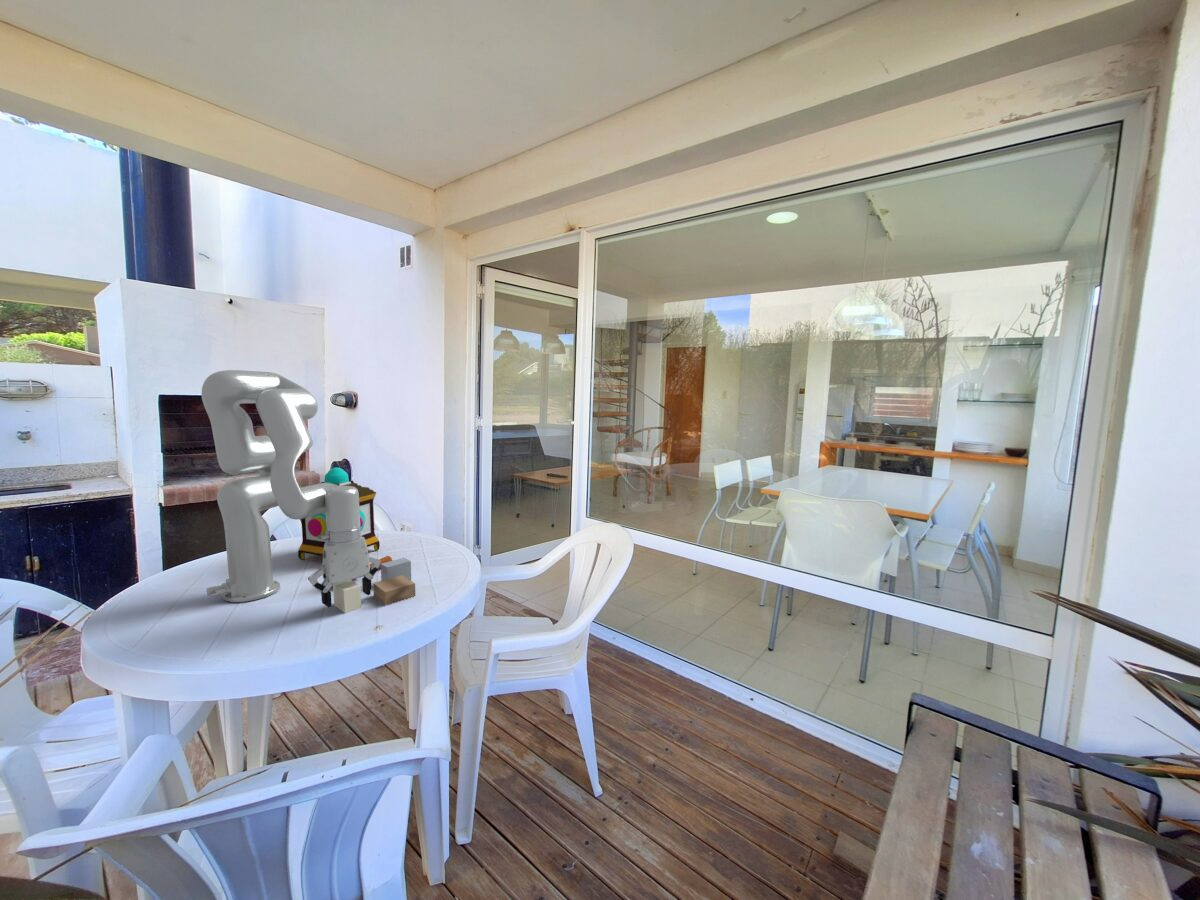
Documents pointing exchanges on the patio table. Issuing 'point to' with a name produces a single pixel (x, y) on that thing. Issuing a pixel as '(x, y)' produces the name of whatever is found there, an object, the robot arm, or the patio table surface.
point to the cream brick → (347, 596)
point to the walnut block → (394, 589)
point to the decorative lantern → (317, 523)
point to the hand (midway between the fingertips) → (347, 599)
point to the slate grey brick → (396, 569)
